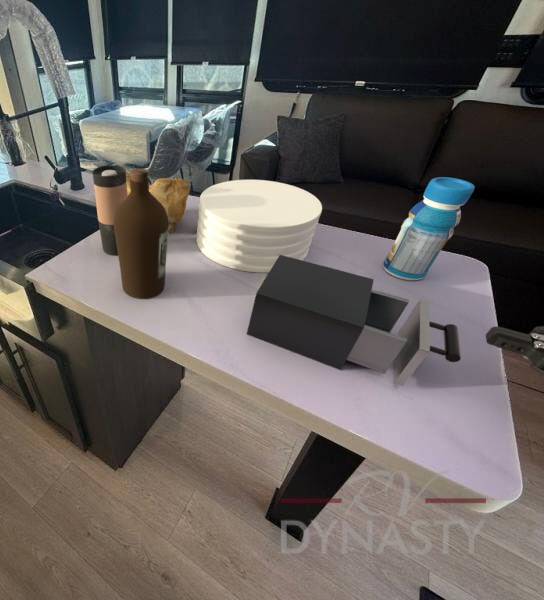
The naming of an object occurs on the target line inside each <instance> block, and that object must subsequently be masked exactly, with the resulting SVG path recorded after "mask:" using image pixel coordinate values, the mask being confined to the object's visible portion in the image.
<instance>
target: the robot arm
mask: <svg viewBox="0 0 544 600" xmlns="http://www.w3.org/2000/svg"><path fill="white" fill-rule="evenodd" d="M484 335H485V341H486V344H488V345H491V346H494V347H496V348H499V349H502V350H506V351H509V352H513V353H516V354H519V355H521V357H522V358H523V359H525V360H527V361H530V362H531V364H530V365H529V366H530V368H531V369H532V370H534V371H535V372H537V373H538V374H540V375H542V376H544V325H541V326H536V327H534V328H533V329H532V330H531V331H530V332H529V333H524V332H520V331H516V330H512V329H509V328H506V327H502V326H491V328H490V329H489V330H488V331H487V332H486V333H485V334H484Z"/></svg>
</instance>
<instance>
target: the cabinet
mask: <svg viewBox="0 0 544 600" xmlns="http://www.w3.org/2000/svg"><path fill="white" fill-rule="evenodd" d="M374 281H375V280H374V278H372V277H371V278H370V277H367V276H362V275H359V274H355V273H351V272H347V271H344V270H340V269H336V268H333V267H328V266H325V265H321V264H318V263H313V262H310V261H306V260H303V261H302V260H298V259H295V258H291V257H287V256H283V255H279V257H278V259H277V260H276V262H275V263H274V265H273V267H272V268H271V270H270V272H267V274H266V276H265V278H264V280H263V281H262V283H261V285H260V286H259V288H258V290H257V291H256V294H255V297H254V301H253V305H252V310H251V314H250V319H249V321H248V322H249V323H248V325H247V330H246V335H248V336H250V337H253V338H256V339H258V340H261V341H264V342H265V343H269V344H271V345H273V346H277V347H278V348H282V349H284V350H287V351H290V352H292V353H294V354H297V355H299V356H302V357H305V358H308V359H309V360H313V361H316V362H318V363H321V364H323V365H325V366H329V367H331V368H334V369H336V370H339V371H341V370H342V369H343V367H344V365H345V363H346V361H348V360H347V358H348V356H349V354H350V352H351V351H352V349H353V347H354V345H355V343H356V342H357V340H358V338H359V336H360V334H361V332H362V331H363V329H364V326H365V321H366V316H367V311H368V306H369V301H370V296H371V291H372V290H373V285H374Z"/></svg>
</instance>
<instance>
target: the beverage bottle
mask: <svg viewBox="0 0 544 600" xmlns="http://www.w3.org/2000/svg"><path fill="white" fill-rule="evenodd" d="M475 188H476V187H475V185H474V184H473V183H472V182H470V181H467V180H464V179H460V178H455V177H445V176H444V177H443V176H439V177H434V178H431V180H430V181H429V182H428V184H427V186H426V188H425V190H424V192H423V199H422V200H420V201H419V202H418V203H416V204H415V205H414V206H412V208H411V209H410V210H409V212H408V217H407V218H405V219H404V221H403V222H402V224H401V226H400V231H399V233H398V234H397V237H396V239H395V241H394V243H393V245H392V246H391V248H390V250H389V252H388V254H387V256H386V257H385V259H384V261H383V263H382V267H383V270H384V271H385V272H386V273H388V274H389V275H391V276H393V277H395V278H397V279H400V280H405V281H420V280H423V279H424V278H425V277H426V275H428V272H429V270H430V269H431V267H432V265H433V263H434V262H435V260H436V259H437V258H438V256H439V254H440V253H441V251H442V249H443V248H444V247H445V245H446V243H447V242H448V241H449V240H450V239H451V238H452V236H453V235H454V233H455V232H454V228H455V227H457V226H458V225H459V224H460V222H461V219H462V212H461V206H464V205H465V204H466V203H467V202H468V201H469V199H470V198H471V196H472V194H473V193H474V190H475Z"/></svg>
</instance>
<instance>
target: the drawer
mask: <svg viewBox="0 0 544 600" xmlns="http://www.w3.org/2000/svg"><path fill="white" fill-rule="evenodd" d="M409 302H410V299H407V298H404V297H402V296H401V297H400V296H398V295H397V296H396V295H392V294H389V293H386V292H383V291H378V290H375V289H372V291H371V296H370V301H369V306H368V311H367V316H366V321H365V326H364V329H363V331H362V332H361V334H360V336H359V338H358V340H357V342H356V343H355V345H354V347H353V349H352V351H351V352H350V354H349V356H348V358H347V360H346V361H348V362H350V363H351V362H352V363H354V364H357V365H360V366H362V367H365V368H367V369H370V370H373V371H375V372H378V373H381V374H386V372H387V371H388V370H389V368H390V367H391V365H392V364H393V363H394V361H395V367H394V376H393V383H394V384H396V385H398V386H401V387H404V385H405V384H406V383H407V381H408V380H409V379H410V378H411V376H412V375H413V374H414V373H415V372H416V370H417V369H418V367H420V365H421V364H422V362H423V361H424V360H425V358H426V357H427V356H428V355H429V353H433V354H437V355H440V356H442V357H443V356H444V358H445V361H448V362H449V363H459V362H460V361H461V347H460V339H459V338H460V337H459V330H458V326H457V325H456V324H452V323H447V324H445V325H444V324H440V323H437V322H433V321H430V301H429V300H428V299H427V300H426V299H423V298H419V300H418V302H417V304H416V305H415V306H414V307H413V309H412V311H411V312H410V314H409V315H408V317H407V318H406V319H405V322H404V323H403V325H402V326H401V328H400V329H399V331H398V332H397V334H394V333H392V330H393V328H394V327H395V325H396V323H397V322H398V320H399V319H400V317H401V316H402V314H403V312H404V311H405V310H406V308H407V306H408V305H409V304H410V303H409ZM430 328H433V329H436V330H439V331H443V344H444V345H443V346H444V349H442V348H439V347H436V346H432V345H431V344H430V343H431V340H430V339H431V337H430V336H431V335H430V333H431V331H430Z"/></svg>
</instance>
